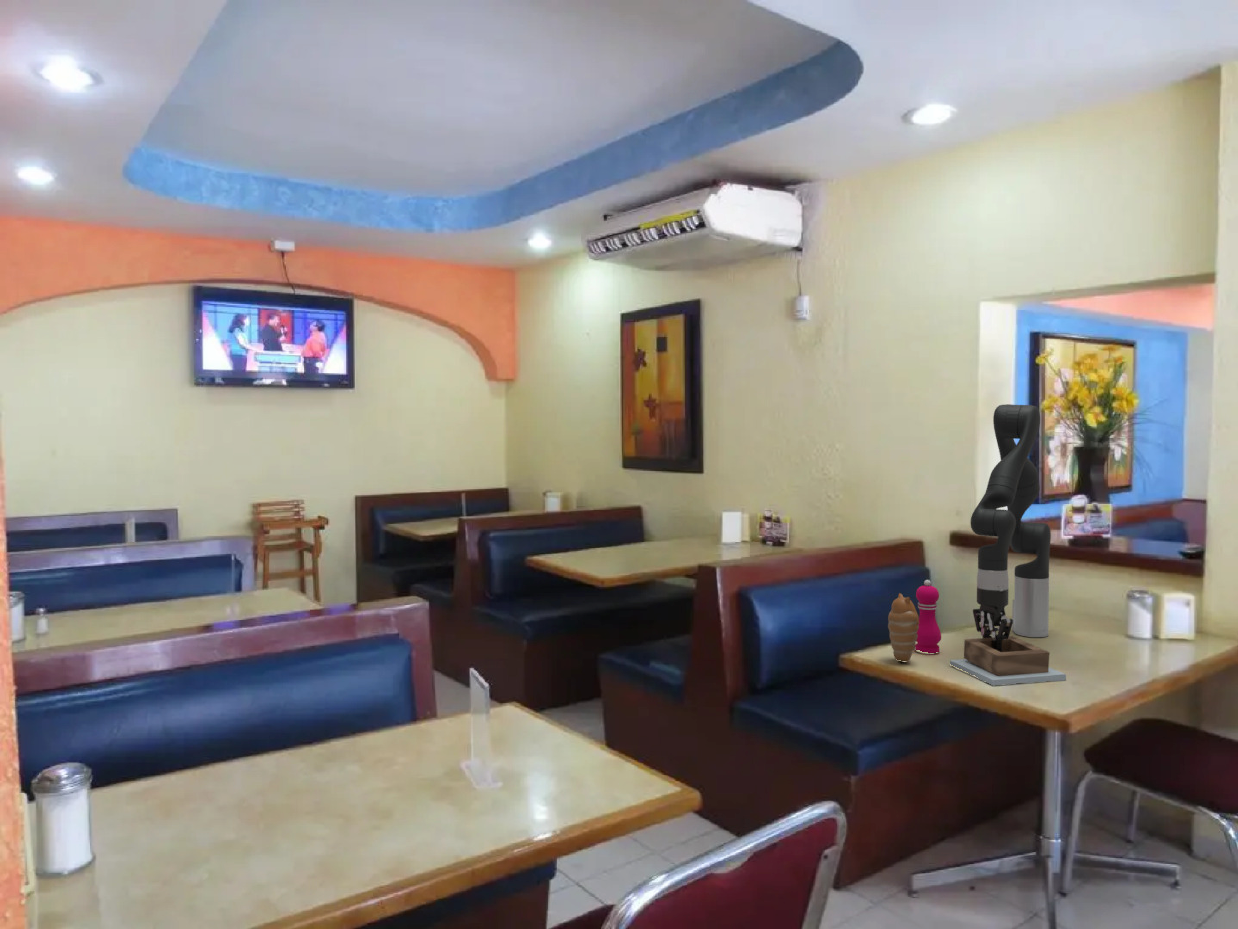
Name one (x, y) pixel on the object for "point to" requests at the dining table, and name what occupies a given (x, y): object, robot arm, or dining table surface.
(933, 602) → the pepper mill
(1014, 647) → the frame
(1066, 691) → the dining table surface
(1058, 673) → the peg board
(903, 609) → the cat ice cream
